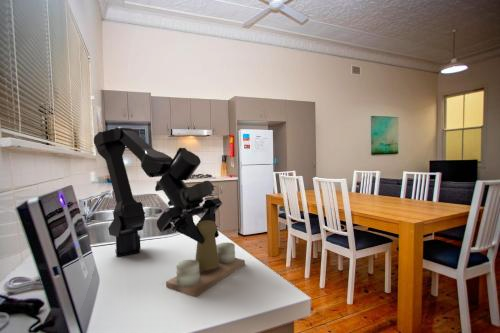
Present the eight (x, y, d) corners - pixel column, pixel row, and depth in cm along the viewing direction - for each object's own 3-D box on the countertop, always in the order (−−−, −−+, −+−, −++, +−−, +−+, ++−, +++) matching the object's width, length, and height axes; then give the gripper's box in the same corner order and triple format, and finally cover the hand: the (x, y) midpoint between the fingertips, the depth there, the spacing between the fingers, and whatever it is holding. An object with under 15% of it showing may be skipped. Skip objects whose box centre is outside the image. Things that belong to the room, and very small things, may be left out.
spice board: (166, 286, 60) (165, 264, 59) (218, 258, 76) (218, 240, 75) (195, 297, 55) (194, 272, 55) (244, 264, 71) (244, 245, 71)
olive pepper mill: (220, 260, 68) (220, 218, 68) (217, 270, 62) (216, 224, 62) (197, 260, 68) (196, 218, 68) (191, 270, 62) (190, 224, 62)
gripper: (163, 173, 59) (201, 228, 53) (216, 169, 74) (250, 211, 69) (142, 205, 63) (175, 259, 58) (196, 195, 79) (226, 236, 74)
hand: (210, 239), depth 64 cm, fingers closed on olive pepper mill, 5 cm apart
